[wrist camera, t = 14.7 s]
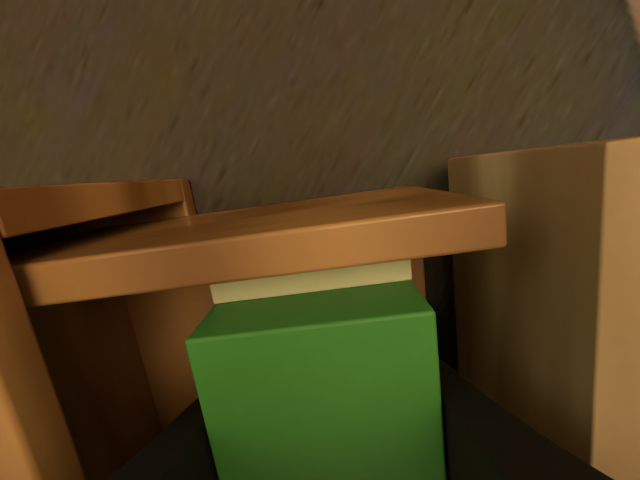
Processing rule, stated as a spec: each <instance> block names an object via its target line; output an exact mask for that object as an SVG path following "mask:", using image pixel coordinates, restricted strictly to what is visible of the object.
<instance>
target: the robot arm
mask: <svg viewBox="0 0 640 480" xmlns="http://www.w3.org/2000/svg"><path fill="white" fill-rule="evenodd" d="M439 372H440V387H441V402H442V417H443V432H444V447H445V462H446V477H447V480H614V479H612V478H611V477H609V476H607V475H606V474H604V473H602V472H601V471H599V470H597V469H595V468H594V467H592V466H590V465H589V464H587V463H585V462H584V461H582V460H580V459H579V458H577V457H576V456H574V455H572V454H571V453H569V452H568V451H566V450H564V449H563V448H561V447H560V446H558V445H557V444H555V443H554V442H552V441H551V440H549V439H548V438H546V437H545V436H543V435H542V434H540V433H539V432H537V431H536V430H534V429H533V428H531V427H530V426H528V425H527V424H525V423H524V422H523V421H521V420H520V419H518V418H517V417H515V416H514V415H513V414H511V413H510V412H508V411H507V410H506V409H504V408H503V407H502V406H500V405H499V404H497V403H496V402H495V401H493V400H492V399H491V398H489V397H488V396H487V395H485V394H484V393H483V392H482V391H480V390H479V389H478V388H476V387H475V386H474V385H473V384H471V383H470V382H469V381H467V380H466V379H465V378H464V377H462V376H461V375H460V374H459V373H457V372H456V371H455V370H454V369H452V368H451V367H450V366H449V365H447V364H446V363H445V362H444V361H442V360H441V359H440V358H439ZM107 480H219V478H218V474H217V470H216V466H215V462H214V458H213V454H212V450H211V446H210V442H209V438H208V434H207V430H206V426H205V422H204V418H203V414H202V410H201V406H200V402H199V398H197V399H196V400H195V401H194V402H193V403H191V404H190V405H189V406H188V407H187V408H186V409H185V410H184V411H183V412H182V413H181V414H180V415H179V416H178V417H177V418H176V419H174V420H173V421H172V422H171V423H170V424H169V425H168V426H167V427H166V428H165V429H164V430H163V431H162V432H160V433H159V434H158V435H157V436H156V437H155V438H154V439H153V440H152V441H151V442H150V443H148V444H147V445H146V446H145V447H144V448H143V449H142V450H140V451H139V452H138V453H137V454H136V455H135V456H134V457H132V458H131V459H130V460H129V461H128V462H127V463H126V464H124V465H123V466H122V467H121V468H120V469H119V470H117V471H116V472H115V473H114V474H113V475H112V476H111V477H109V478H108V479H107Z"/></svg>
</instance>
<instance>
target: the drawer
mask: <svg viewBox="0 0 640 480" xmlns="http://www.w3.org/2000/svg"><path fill="white" fill-rule="evenodd" d="M447 162H448V181H449V192H447V191H441V190H435V189H429V188H423V187H417V186H411V185H409V186H402V187H395V188H387V189H380V190H373V191H366V192H358V193H351V194H344V195H336V196H329V197H322V198H315V199H307V200H300V201H293V202H285V203H278V204H271V205H264V206H256V207H249V208H242V209H234V210H227V211H220V212H213V213H205V214H198V215H191V216H183V217H176V218H169V219H162V220H154V221H147V222H140V223H132V224H125V225H118V226H111V227H103V228H98V229H94V230H90V231H87V232H82V233H78V234H74V235H70V236H66V237H62V238H58V239H54V240H50V241H46V242H42V243H38V244H34V245H30V246H26V247H22V248H18V249H14V250H10V251H6V253H7V256H8V258H9V261H10V264H11V267H12V270H13V272H14V275H15V278H16V281H17V284H18V286H19V289H20V292H21V295H22V298H23V301H24V303H25V306H26V309H27V312H28V315H29V317H30V320H31V323H32V326H33V329H34V332H35V334H36V337H37V340H38V343H39V346H40V348H41V351H42V354H43V357H44V360H45V362H46V365H47V368H48V371H49V374H50V377H51V379H52V382H53V385H54V388H55V391H56V393H57V396H58V399H59V402H60V405H61V407H62V410H63V413H64V416H65V419H66V422H67V424H68V427H69V430H70V433H71V436H72V438H73V441H74V444H75V447H76V450H77V452H78V455H79V458H80V461H81V464H82V467H83V469H84V472H85V475H86V478H87V480H107V479H108V478H109V477H111V476H112V475H113V474H114V473H115V472H116V471H117V470H119V469H120V468H121V467H122V466H123V465H124V464H126V463H127V462H128V461H129V460H130V459H131V458H132V457H134V456H135V455H136V454H137V453H138V452H139V451H140V450H142V449H143V448H144V447H145V446H146V445H147V444H148V443H150V442H151V441H152V440H153V439H154V438H155V437H156V436H157V435H158V434H159V433H160V432H162V431H163V430H164V429H165V428H166V427H167V426H168V425H169V424H170V423H171V422H172V421H173V420H174V419H176V418H177V417H178V416H179V415H180V414H181V413H182V412H183V411H184V410H185V409H186V408H187V407H188V406H189V405H190V404H191V403H193V402H194V401H195V400H196V399H197V398H198V394H197V390H196V386H195V382H194V378H193V374H192V370H191V366H190V362H189V358H188V353H187V349H186V345H185V341H186V339H187V338H188V336H189V335H190V334H191V333H192V332H193V330H194V329H195V328H196V327H197V326H198V324H199V323H200V322H201V321H202V320H203V319H204V317H205V316H206V315H207V314H208V313H209V311H210V310H211V309H212V308H213V307H214V305H215V304H214V303H213V299H212V295H211V290H210V286H209V285H212V284H220V283H228V282H236V281H244V280H252V279H260V278H268V277H276V276H284V275H292V274H300V273H308V272H316V271H324V270H332V269H339V268H347V267H355V266H363V265H371V264H379V263H387V262H395V261H403V260H411V272H412V279H411V281H412V283H413V284H414V285H415V286H416V288H417V289H418V290H419V292H420V293H421V294H422V296H423V297H424V298H425V299H426V287H425V273H424V259H423V258H427V257H435V256H443V255H451V254H452V257H453V276H454V295H455V314H456V333H457V352H458V371H459V374H460V375H461V376H462V377H464V378H465V379H466V380H467V381H469V382H470V383H471V384H473V385H474V386H475V387H476V388H478V389H479V390H480V391H482V392H483V393H484V394H485V395H487V396H488V397H489V398H491V399H492V400H493V401H495V402H496V403H497V404H499V405H500V406H502V407H503V408H504V409H506V410H507V411H508V412H510V413H511V414H513V415H514V416H515V417H517V418H518V419H520V420H521V421H523V422H524V423H525V424H527V425H528V426H530V427H531V428H533V429H534V430H536V431H537V432H539V433H540V434H542V435H543V436H545V437H546V438H548V439H549V440H551V441H552V442H554V443H555V444H557V445H558V446H560V447H561V448H563V449H564V450H566V451H568V452H569V453H571V454H572V455H574V456H576V457H577V458H579V459H580V460H582V461H584V462H585V463H587V464H589V465H590V466H592V467H594V468H595V469H597V470H599V471H601V472H602V473H604V474H606V475H607V476H609V477H611V478H612V479H614V480H640V136H631V137H622V138H614V139H605V140H596V141H588V142H579V143H570V144H561V145H553V146H544V147H535V148H527V149H518V150H509V151H501V152H492V153H483V154H476V155H469V156H462V157H454V158H449V159H448V160H447ZM426 301H427V300H426Z"/></svg>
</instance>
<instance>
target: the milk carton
mask: <svg viewBox="0 0 640 480" xmlns="http://www.w3.org/2000/svg"><path fill="white" fill-rule="evenodd" d="M411 279H412V272H411V260H403V261H395V262H387V263H379V264H371V265H363V266H355V267H347V268H339V269H332V270H324V271H316V272H308V273H300V274H292V275H284V276H276V277H268V278H260V279H252V280H244V281H236V282H228V283H220V284H212V285H209V286H210V290H211V295H212V299H213V303H214V304H215V305H214V307H213V308H212V309H211V310H210V311H209V313H208V314H207V315H206V316H205V317H204V319H203V320H202V321H201V322H200V323H199V324H198V326H197V327H196V328H195V329H194V330H193V332H192V333H191V334H190V335H189V336H188V338H187V339H186V341H185V345H186V349H187V353H188V358H189V362H190V366H191V370H192V374H193V378H194V382H195V386H196V390H197V394H198V398H199V402H200V406H201V410H202V414H203V418H204V422H205V426H206V430H207V434H208V438H209V442H210V446H211V450H212V454H213V458H214V462H215V466H216V470H217V474H218V478H219V480H447V477H446V462H445V447H444V432H443V417H442V402H441V387H440V372H439V357H438V342H437V327H436V313H435V311H434V310H433V308H432V307H431V306H430V305H429V303H428V302H427V301H426V299H425V298H424V297H423V296H422V294H421V293H420V292H419V290H418V289H417V288H416V286H415V285H414V284H413V283H412V281H411Z"/></svg>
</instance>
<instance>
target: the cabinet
mask: <svg viewBox="0 0 640 480" xmlns="http://www.w3.org/2000/svg"><path fill="white" fill-rule="evenodd" d="M191 215H196V211H195V206H194V202H193V197H192V193H191V188H190V184H189V180H188V179H164V180H144V181H124V182H104V183H84V184H63V185H43V186H23V187H3V188H0V480H87V478H86V475H85V472H84V469H83V467H82V464H81V461H80V458H79V455H78V452H77V450H76V447H75V444H74V441H73V438H72V436H71V433H70V430H69V427H68V424H67V422H66V419H65V416H64V413H63V410H62V407H61V405H60V402H59V399H58V396H57V393H56V391H55V388H54V385H53V382H52V379H51V377H50V374H49V371H48V368H47V365H46V362H45V360H44V357H43V354H42V351H41V348H40V346H39V343H38V340H37V337H36V334H35V332H34V329H33V326H32V323H31V320H30V317H29V315H28V312H27V309H26V306H25V303H24V301H23V298H22V295H21V292H20V289H19V286H18V284H17V281H16V278H15V275H14V272H13V270H12V267H11V264H10V261H9V258H8V256H7V253H6V251H10V250H14V249H18V248H22V247H26V246H30V245H34V244H38V243H42V242H46V241H50V240H54V239H58V238H62V237H66V236H70V235H74V234H78V233H82V232H87V231H90V230H94V229H98V228H103V227H111V226H118V225H125V224H132V223H140V222H147V221H154V220H162V219H169V218H176V217H183V216H191Z"/></svg>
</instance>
